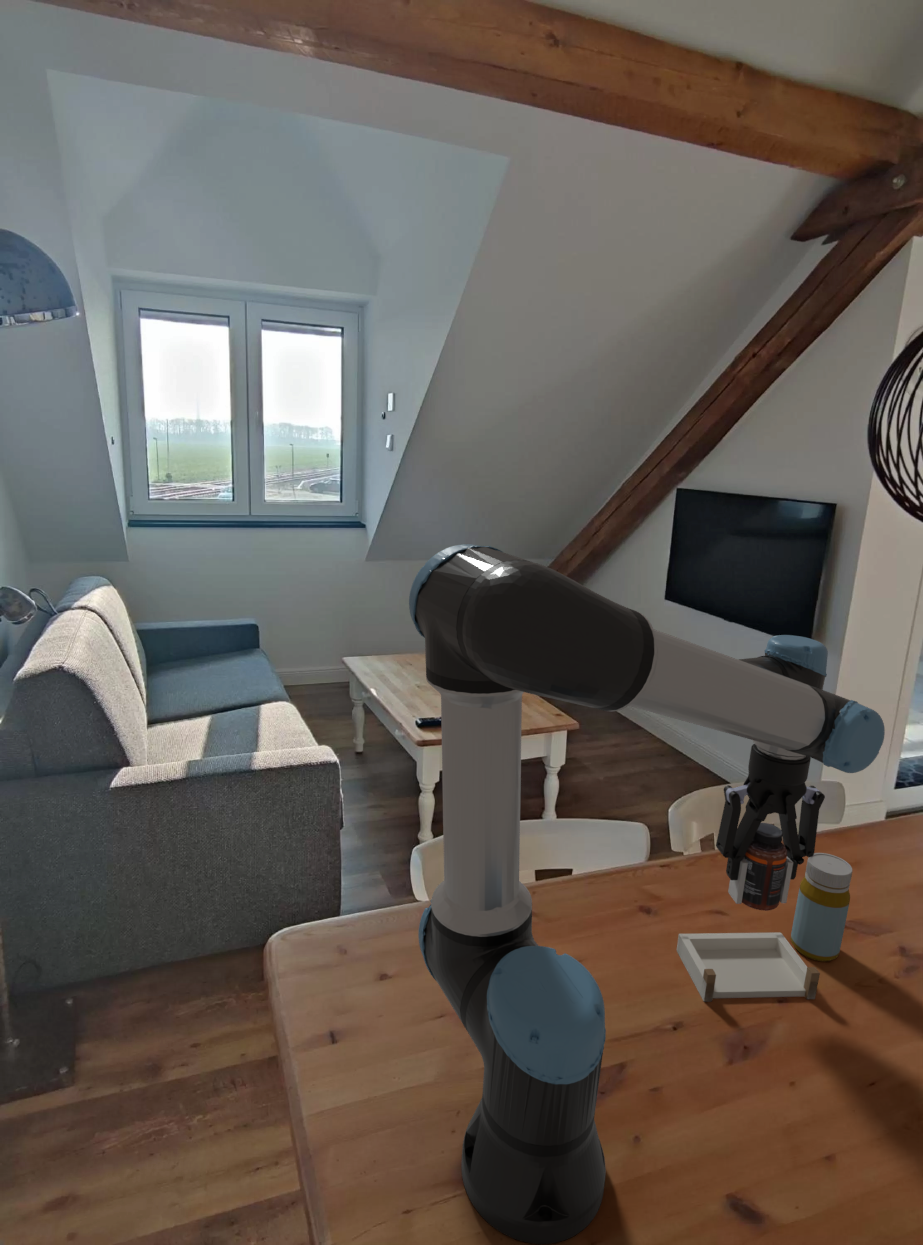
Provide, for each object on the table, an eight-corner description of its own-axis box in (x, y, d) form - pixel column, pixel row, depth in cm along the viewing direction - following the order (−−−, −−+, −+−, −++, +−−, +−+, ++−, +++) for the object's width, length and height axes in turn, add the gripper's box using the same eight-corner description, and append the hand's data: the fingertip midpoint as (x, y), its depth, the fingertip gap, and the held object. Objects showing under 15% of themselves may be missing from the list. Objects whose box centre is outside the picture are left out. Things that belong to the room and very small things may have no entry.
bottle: (780, 939, 117) (794, 855, 114) (812, 930, 120) (827, 848, 117) (815, 968, 111) (832, 880, 108) (848, 957, 114) (866, 871, 110)
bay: (814, 999, 105) (819, 973, 104) (703, 1001, 103) (707, 975, 102) (778, 949, 115) (782, 924, 114) (676, 950, 114) (679, 925, 113)
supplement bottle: (782, 897, 107) (794, 827, 104) (774, 918, 102) (787, 845, 99) (739, 882, 110) (750, 814, 107) (730, 902, 105) (741, 831, 102)
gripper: (831, 738, 105) (805, 881, 110) (703, 737, 103) (683, 882, 109) (863, 761, 97) (834, 913, 103) (725, 760, 96) (703, 915, 101)
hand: (756, 897), depth 106 cm, fingers closed on supplement bottle, 6 cm apart
